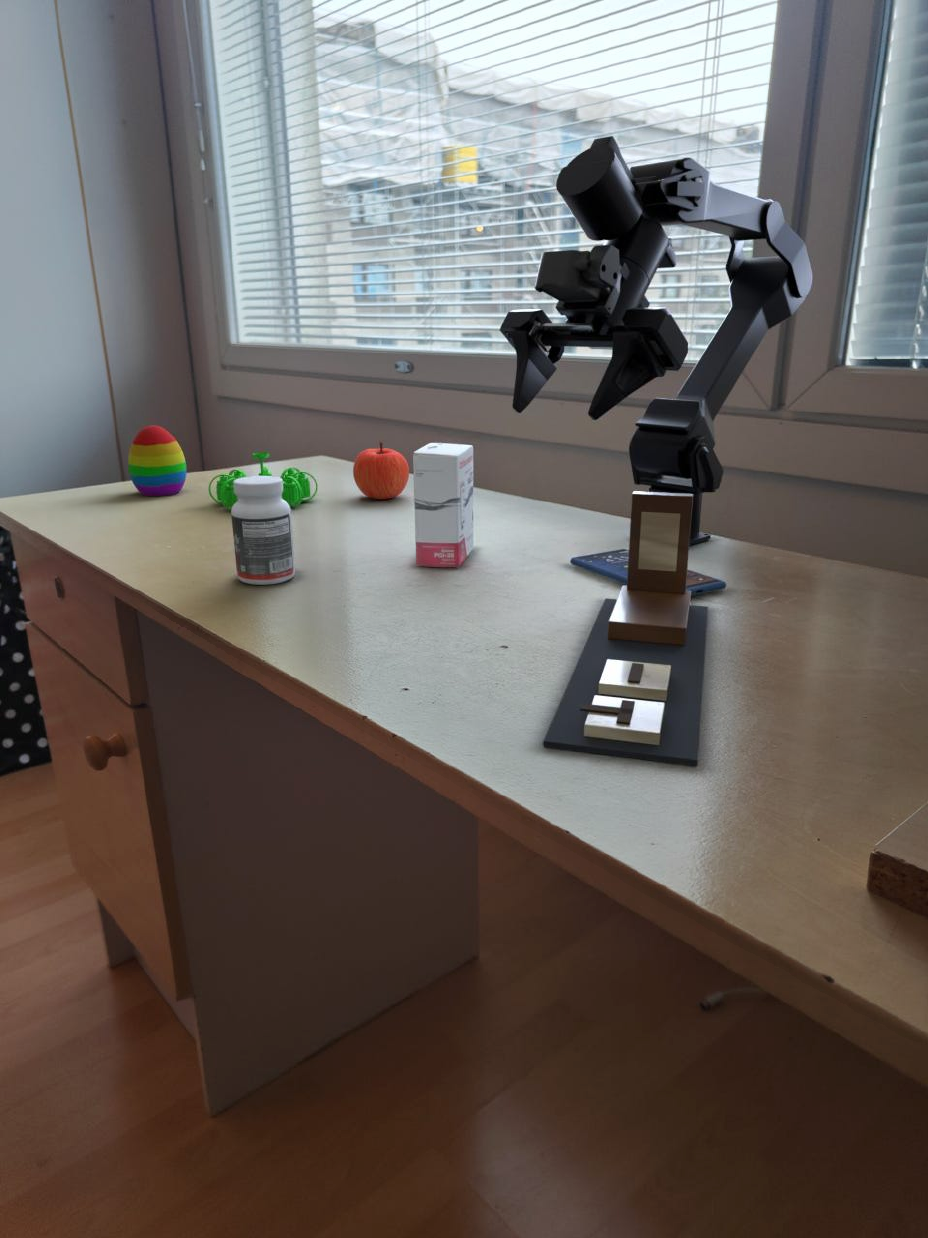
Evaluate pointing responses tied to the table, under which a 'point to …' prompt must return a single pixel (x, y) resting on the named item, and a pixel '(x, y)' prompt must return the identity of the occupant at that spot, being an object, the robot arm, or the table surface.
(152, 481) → the decorative egg
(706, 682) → the table surface
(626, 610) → the brown picture frame
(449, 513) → the ink box
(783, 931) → the table surface
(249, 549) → the pill bottle
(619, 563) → the smartphone
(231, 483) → the chandelier
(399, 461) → the apple
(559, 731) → the word mat
